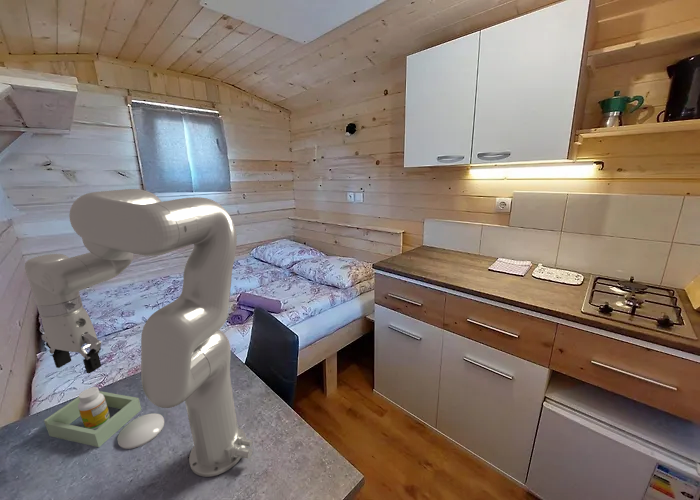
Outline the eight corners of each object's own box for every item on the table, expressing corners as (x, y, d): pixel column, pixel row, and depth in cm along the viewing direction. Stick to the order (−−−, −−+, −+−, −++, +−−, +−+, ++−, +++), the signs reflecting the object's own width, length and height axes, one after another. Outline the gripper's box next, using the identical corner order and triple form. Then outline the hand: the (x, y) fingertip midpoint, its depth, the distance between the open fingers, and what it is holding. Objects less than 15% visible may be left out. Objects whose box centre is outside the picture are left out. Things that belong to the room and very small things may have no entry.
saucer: (173, 418, 81) (172, 416, 81) (141, 452, 72) (140, 449, 72) (142, 413, 84) (142, 410, 83) (107, 444, 74) (107, 442, 74)
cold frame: (141, 409, 85) (137, 395, 83) (99, 447, 74) (93, 431, 72) (96, 401, 88) (92, 387, 87) (49, 436, 77) (43, 420, 76)
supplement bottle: (80, 426, 80) (70, 395, 77) (104, 411, 84) (95, 382, 82) (90, 433, 77) (80, 402, 75) (114, 418, 82) (105, 388, 79)
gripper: (105, 302, 73) (120, 362, 78) (51, 296, 77) (68, 353, 82) (72, 317, 66) (90, 382, 71) (14, 309, 70) (35, 371, 75)
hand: (79, 367), depth 76 cm, fingers open, 9 cm apart
